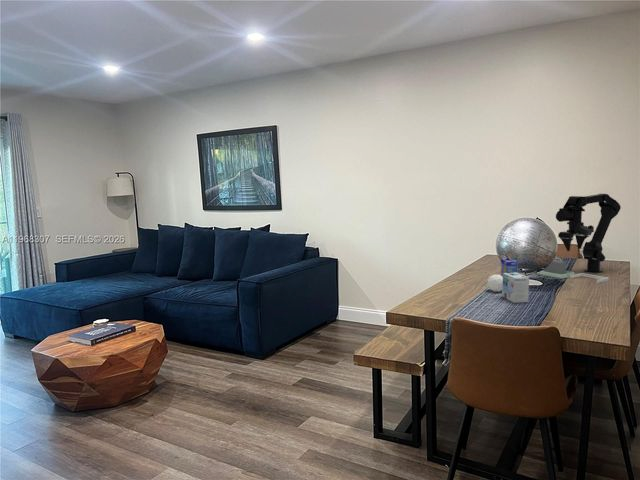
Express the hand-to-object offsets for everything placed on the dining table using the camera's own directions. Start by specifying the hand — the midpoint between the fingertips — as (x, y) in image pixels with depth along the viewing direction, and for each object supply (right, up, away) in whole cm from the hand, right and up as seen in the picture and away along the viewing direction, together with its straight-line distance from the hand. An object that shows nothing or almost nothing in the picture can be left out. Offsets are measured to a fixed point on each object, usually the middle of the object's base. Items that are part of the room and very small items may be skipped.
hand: (574, 249), depth 243 cm
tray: (-10, -13, +1) cm, 16 cm away
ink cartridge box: (-41, -17, -17) cm, 48 cm away
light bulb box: (-49, -21, -44) cm, 69 cm away
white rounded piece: (-51, -19, -31) cm, 62 cm away
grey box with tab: (-10, -13, +1) cm, 16 cm away
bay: (+1, -15, -12) cm, 19 cm away
